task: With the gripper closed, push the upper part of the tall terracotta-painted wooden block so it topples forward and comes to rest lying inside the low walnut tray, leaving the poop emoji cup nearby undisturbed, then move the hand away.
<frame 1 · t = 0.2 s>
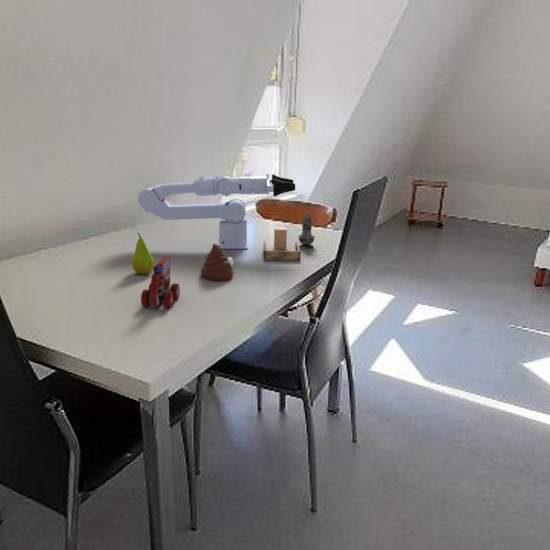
hand: (294, 184, 162), 21 cm above the table, tool horizontal, fingers open, 7 cm apart
fruit: (143, 274, 138), on the table
poop emoji: (217, 277, 137), on the table
tall block: (280, 248, 166), on the table
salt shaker: (306, 247, 169), on the table
walnut tray: (281, 255, 158), on the table
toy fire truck: (161, 303, 118), on the table
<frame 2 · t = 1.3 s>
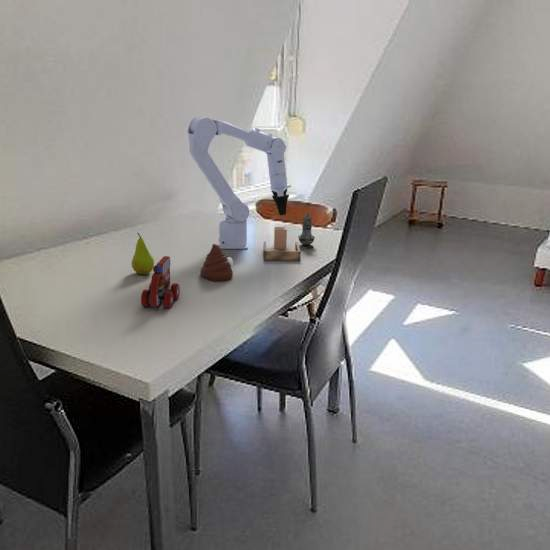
hand: (282, 211, 171), 11 cm above the table, tool pointing down, fingers open, 7 cm apart
nothing on the table moved.
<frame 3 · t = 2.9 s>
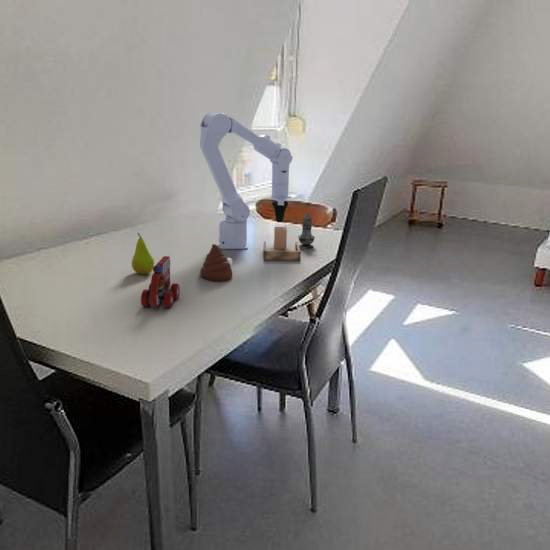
hand: (279, 221, 173), 7 cm above the table, tool pointing down, fingers closed
nothing on the table moved.
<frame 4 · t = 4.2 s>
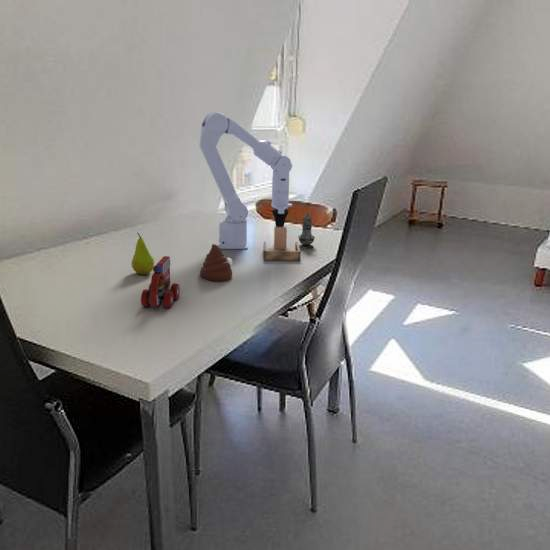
hand: (279, 230, 170), 5 cm above the table, tool pointing down, fingers closed
nothing on the table moved.
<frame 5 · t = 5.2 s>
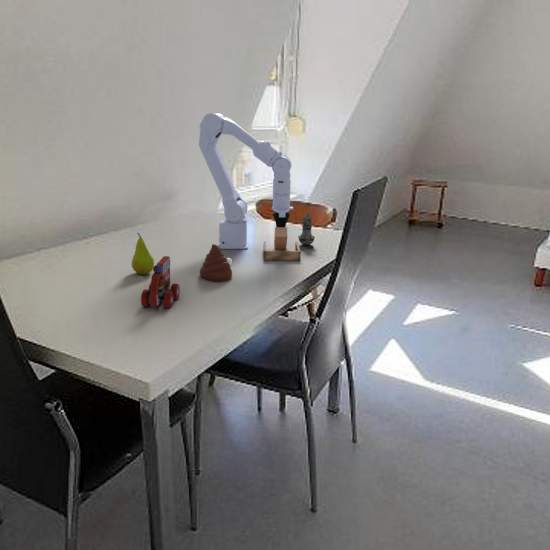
hand: (280, 234, 165), 5 cm above the table, tool pointing down, fingers closed
tall block: (280, 245, 166), point 1 cm above the table, tilted 36°, touching gripper
everything else where it was.
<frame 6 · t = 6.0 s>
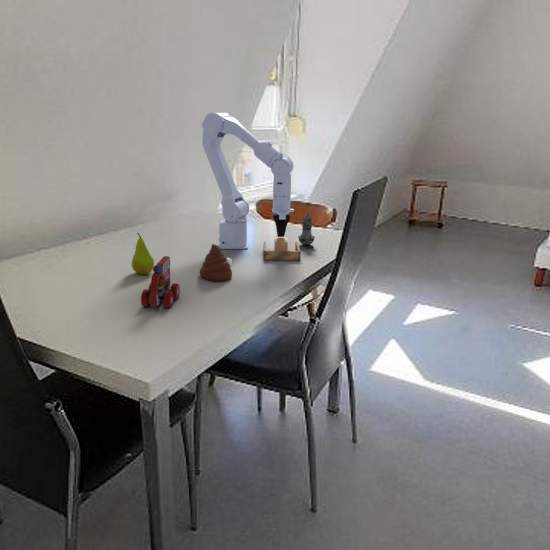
hand: (280, 236, 162), 5 cm above the table, tool pointing down, fingers closed
tall block: (280, 242, 164), point 2 cm above the table, tilted 90°, touching walnut tray
everything else where it was.
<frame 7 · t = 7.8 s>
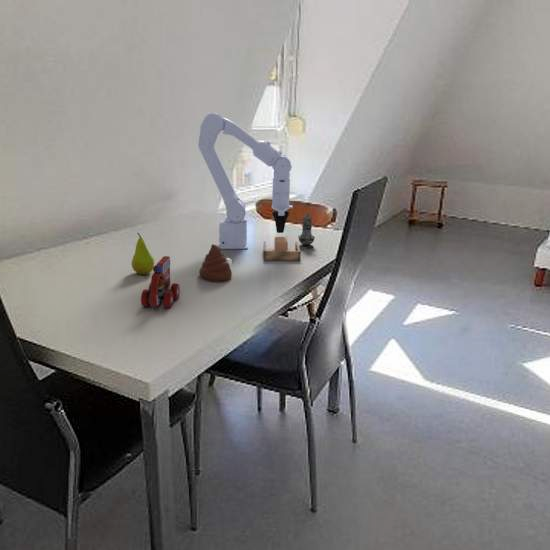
hand: (280, 232, 167), 5 cm above the table, tool pointing down, fingers closed
nothing on the table moved.
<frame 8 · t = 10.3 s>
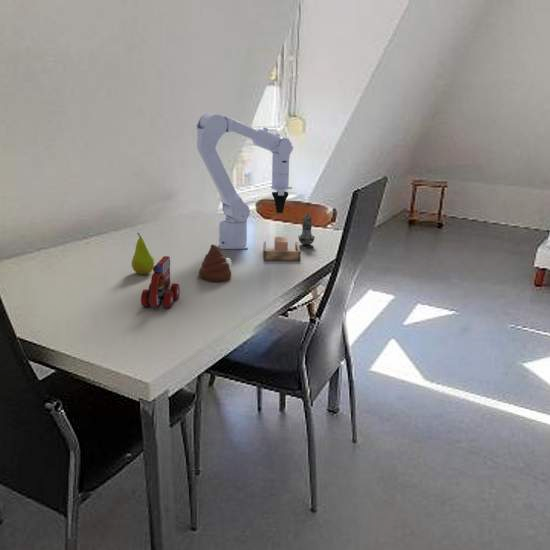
hand: (279, 212, 172), 10 cm above the table, tool pointing down, fingers closed
nothing on the table moved.
at the end: tall block tilted 90°; tall block inside the target area (6.5 cm from its centre), point 2.4 cm above the table; poop emoji moved 0.9 cm from its start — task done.
